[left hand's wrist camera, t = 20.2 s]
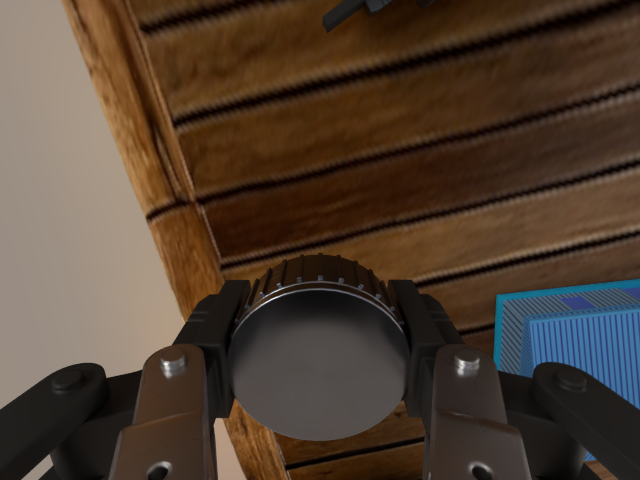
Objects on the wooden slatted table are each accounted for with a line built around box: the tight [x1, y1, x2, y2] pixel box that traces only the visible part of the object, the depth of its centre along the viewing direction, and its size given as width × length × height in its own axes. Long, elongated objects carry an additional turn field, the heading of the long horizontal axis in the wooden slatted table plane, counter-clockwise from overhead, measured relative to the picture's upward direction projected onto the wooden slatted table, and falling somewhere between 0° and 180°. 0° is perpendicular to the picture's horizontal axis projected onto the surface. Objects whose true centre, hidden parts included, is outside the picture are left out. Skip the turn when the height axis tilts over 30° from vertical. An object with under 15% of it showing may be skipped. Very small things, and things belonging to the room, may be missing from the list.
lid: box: [227, 253, 411, 441], centre depth 10 cm, size 5×5×2 cm
